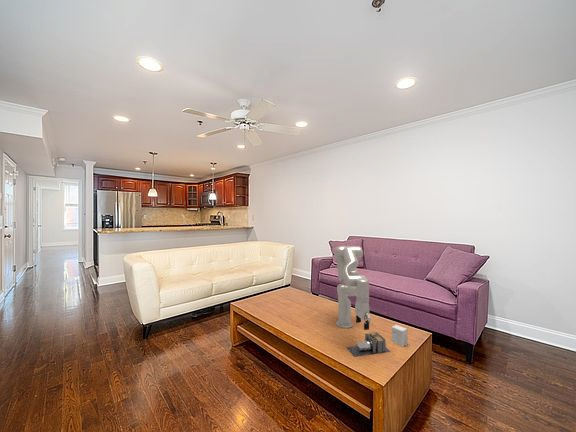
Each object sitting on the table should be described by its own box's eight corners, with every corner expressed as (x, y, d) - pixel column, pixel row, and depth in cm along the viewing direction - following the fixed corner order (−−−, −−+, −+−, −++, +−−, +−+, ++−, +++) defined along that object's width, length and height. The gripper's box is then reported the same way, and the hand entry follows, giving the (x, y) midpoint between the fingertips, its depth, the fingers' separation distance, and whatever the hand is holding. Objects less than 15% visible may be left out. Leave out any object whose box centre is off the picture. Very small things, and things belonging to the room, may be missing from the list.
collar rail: (345, 348, 164) (345, 334, 164) (380, 343, 169) (381, 330, 169) (354, 358, 153) (354, 343, 153) (391, 352, 159) (391, 338, 158)
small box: (407, 344, 168) (407, 328, 168) (402, 347, 165) (402, 331, 164) (396, 339, 174) (396, 324, 174) (391, 342, 171) (391, 326, 171)
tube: (360, 351, 157) (359, 342, 159) (356, 350, 162) (355, 341, 163) (386, 347, 161) (385, 339, 163) (382, 346, 166) (380, 337, 167)
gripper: (350, 294, 167) (350, 320, 168) (364, 304, 150) (364, 333, 151) (361, 293, 169) (360, 319, 169) (375, 303, 152) (375, 331, 152)
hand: (362, 325), depth 160 cm, fingers open, 9 cm apart
